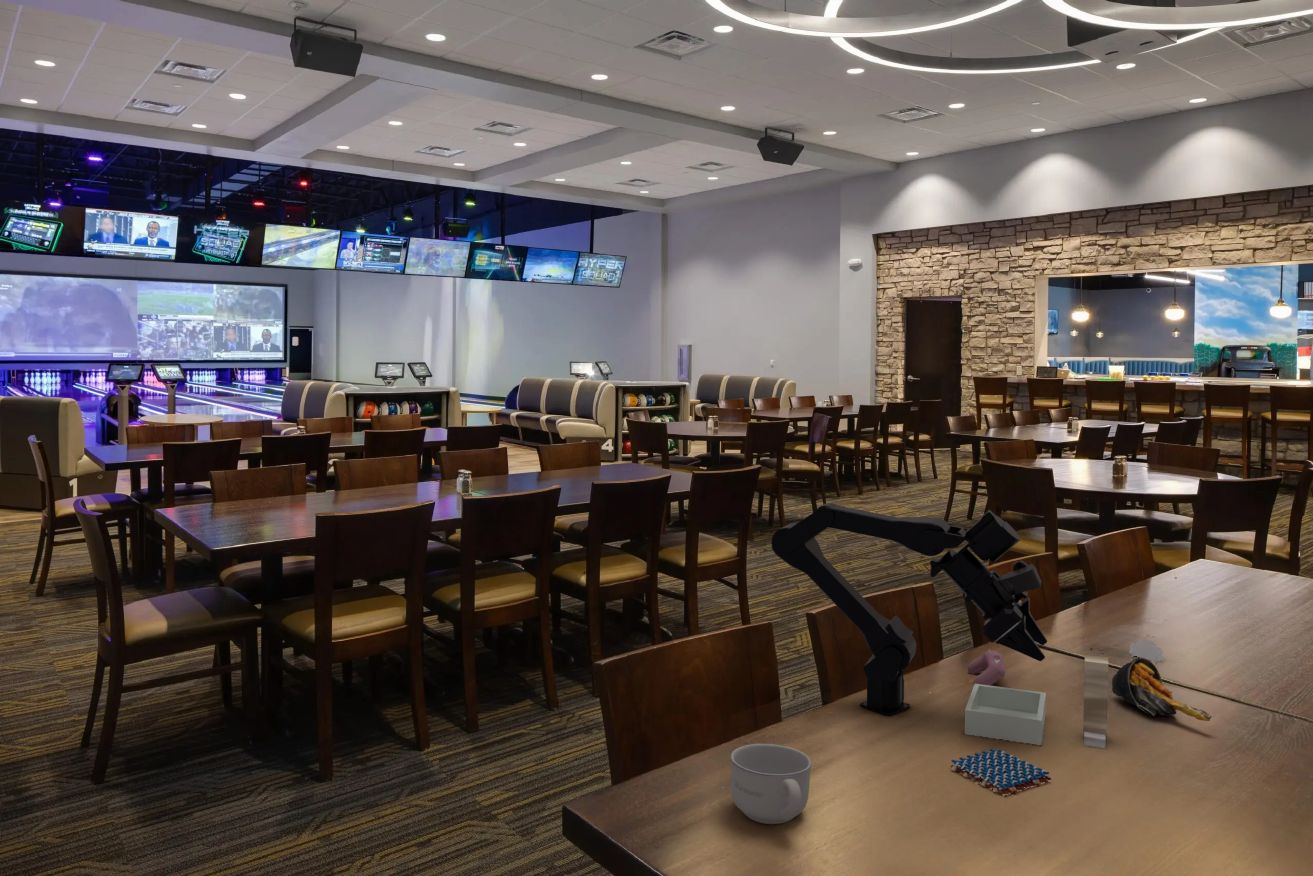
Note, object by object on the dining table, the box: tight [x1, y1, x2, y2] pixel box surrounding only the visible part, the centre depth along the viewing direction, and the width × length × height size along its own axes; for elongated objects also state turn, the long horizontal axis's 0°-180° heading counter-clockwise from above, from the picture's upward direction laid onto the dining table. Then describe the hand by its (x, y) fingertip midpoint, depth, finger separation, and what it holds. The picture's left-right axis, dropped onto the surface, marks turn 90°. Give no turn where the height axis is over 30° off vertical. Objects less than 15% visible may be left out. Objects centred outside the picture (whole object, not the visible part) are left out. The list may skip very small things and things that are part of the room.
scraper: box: [1082, 654, 1109, 749], centre depth 147 cm, size 8×3×13 cm, turn 155°
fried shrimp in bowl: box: [1111, 657, 1212, 722], centre depth 157 cm, size 9×11×18 cm
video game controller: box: [967, 648, 1007, 686], centre depth 174 cm, size 10×5×7 cm, turn 169°
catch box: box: [964, 683, 1047, 745], centre depth 153 cm, size 14×12×4 cm
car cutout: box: [1128, 638, 1165, 664], centre depth 189 cm, size 15×7×4 cm, turn 43°
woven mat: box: [950, 748, 1052, 794], centre depth 134 cm, size 10×11×2 cm
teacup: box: [730, 743, 812, 825], centre depth 122 cm, size 14×11×8 cm
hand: (1044, 651), depth 150 cm, fingers open, 9 cm apart
